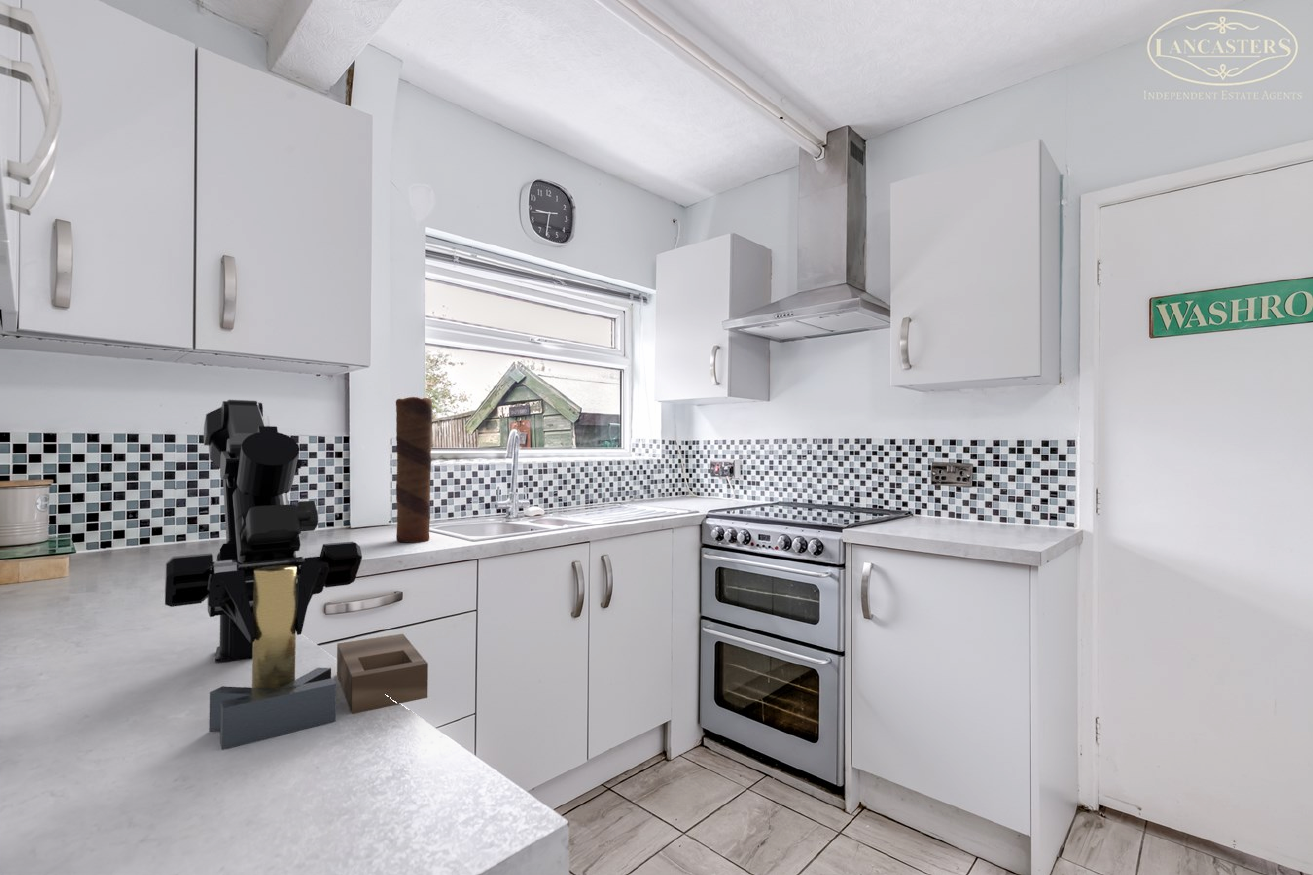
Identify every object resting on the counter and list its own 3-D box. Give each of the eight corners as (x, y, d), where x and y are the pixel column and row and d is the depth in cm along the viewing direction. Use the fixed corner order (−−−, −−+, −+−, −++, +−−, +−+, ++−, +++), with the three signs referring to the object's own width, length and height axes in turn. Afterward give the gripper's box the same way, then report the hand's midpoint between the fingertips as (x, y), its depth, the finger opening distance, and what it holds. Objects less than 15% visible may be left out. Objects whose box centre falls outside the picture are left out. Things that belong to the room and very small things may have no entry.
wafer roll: (416, 544, 189) (418, 396, 190) (388, 542, 192) (389, 396, 193) (438, 539, 199) (439, 398, 200) (410, 537, 202) (412, 399, 203)
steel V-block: (208, 727, 65) (209, 688, 65) (328, 699, 72) (328, 665, 72) (213, 751, 60) (214, 709, 60) (342, 719, 67) (342, 682, 67)
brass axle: (261, 691, 69) (263, 565, 70) (300, 689, 70) (302, 564, 70) (244, 706, 65) (247, 572, 66) (286, 703, 66) (288, 571, 66)
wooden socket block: (336, 674, 80) (337, 643, 80) (402, 663, 85) (402, 633, 85) (352, 713, 69) (352, 676, 69) (427, 697, 73) (427, 663, 73)
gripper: (167, 480, 65) (168, 608, 57) (359, 476, 77) (384, 581, 68) (164, 545, 71) (165, 670, 63) (342, 532, 83) (363, 635, 74)
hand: (276, 636), depth 67 cm, fingers closed on brass axle, 4 cm apart
